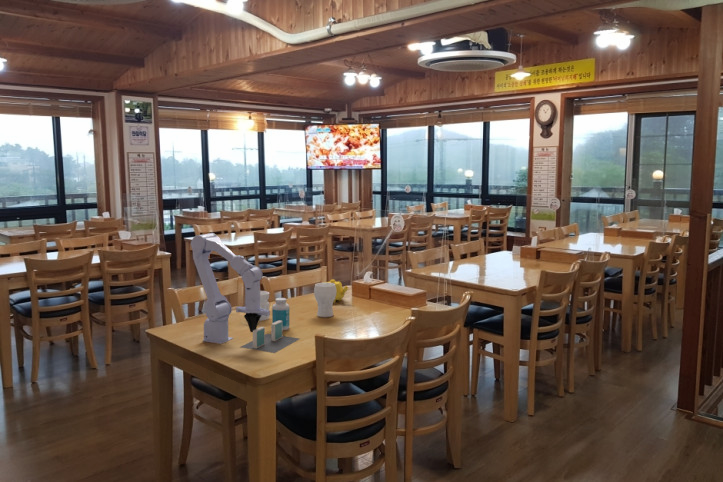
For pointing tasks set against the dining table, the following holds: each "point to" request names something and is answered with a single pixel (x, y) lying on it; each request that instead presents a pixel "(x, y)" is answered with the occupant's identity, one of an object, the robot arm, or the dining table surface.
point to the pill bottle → (281, 312)
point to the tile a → (258, 337)
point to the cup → (325, 298)
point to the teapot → (339, 290)
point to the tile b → (276, 330)
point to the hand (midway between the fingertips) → (253, 331)
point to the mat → (272, 344)
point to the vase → (264, 303)
